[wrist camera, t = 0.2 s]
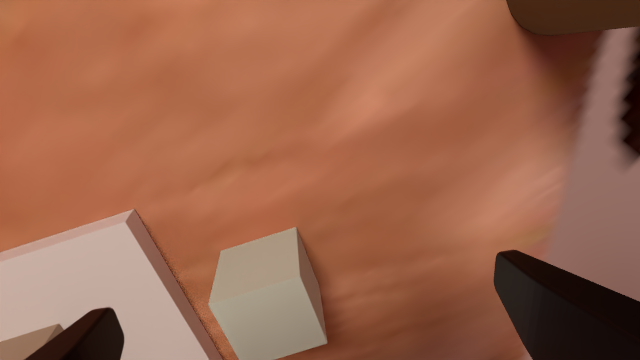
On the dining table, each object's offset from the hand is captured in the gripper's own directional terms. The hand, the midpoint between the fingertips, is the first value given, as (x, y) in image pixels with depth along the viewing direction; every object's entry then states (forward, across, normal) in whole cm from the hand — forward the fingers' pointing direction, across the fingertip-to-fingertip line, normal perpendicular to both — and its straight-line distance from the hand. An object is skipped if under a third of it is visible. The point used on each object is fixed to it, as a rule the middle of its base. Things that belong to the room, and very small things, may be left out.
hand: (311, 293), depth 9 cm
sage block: (+14, +3, +9) cm, 17 cm away
